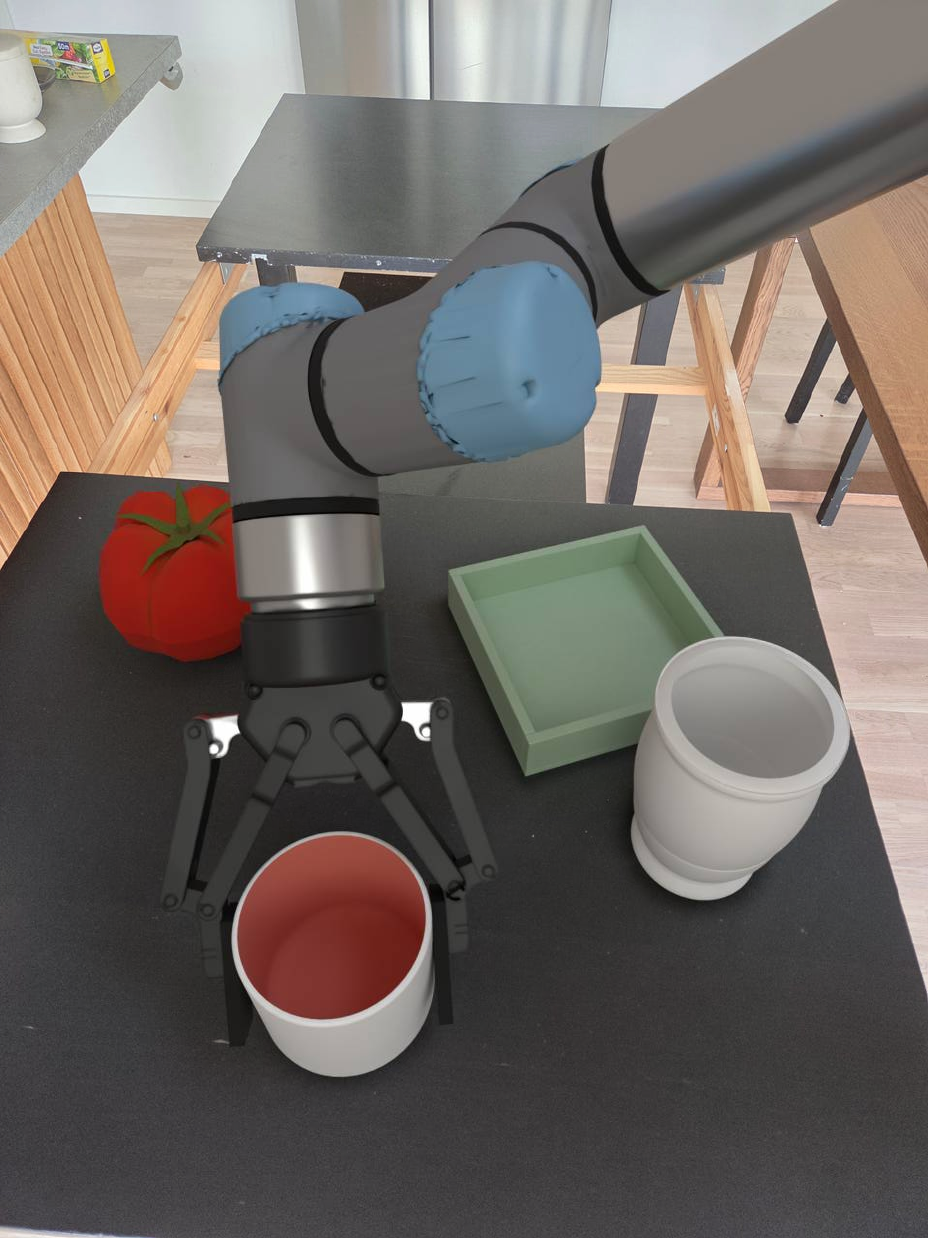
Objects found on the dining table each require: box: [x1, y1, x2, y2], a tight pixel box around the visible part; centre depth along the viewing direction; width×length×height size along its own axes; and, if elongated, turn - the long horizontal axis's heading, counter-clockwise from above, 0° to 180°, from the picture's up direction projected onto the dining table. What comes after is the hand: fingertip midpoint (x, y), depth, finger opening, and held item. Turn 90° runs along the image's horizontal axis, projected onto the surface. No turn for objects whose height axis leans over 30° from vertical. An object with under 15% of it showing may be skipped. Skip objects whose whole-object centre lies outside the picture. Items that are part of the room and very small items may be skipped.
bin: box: [447, 524, 726, 777], centre depth 66 cm, size 18×18×4 cm
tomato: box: [98, 480, 251, 663], centre depth 65 cm, size 13×14×12 cm
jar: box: [630, 636, 851, 901], centre depth 51 cm, size 11×10×15 cm
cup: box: [232, 830, 436, 1078], centre depth 46 cm, size 10×10×10 cm
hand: (344, 1022), depth 45 cm, fingers closed on cup, 10 cm apart
